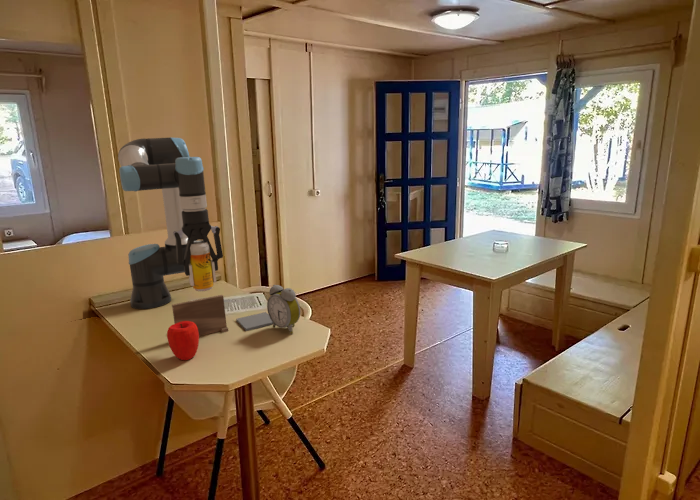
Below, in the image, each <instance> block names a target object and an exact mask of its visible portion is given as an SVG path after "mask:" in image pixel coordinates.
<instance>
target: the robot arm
mask: <svg viewBox="0 0 700 500" xmlns="http://www.w3.org/2000/svg"><path fill="white" fill-rule="evenodd" d="M117 161H118V162H119V165H120V167H119V169H118V170H119V171H118V172H119V178H120V179H119V180H120V185H121V189H122V190H123V191H124V192H139V191H141V192H142V191H151V190H161V193H162V201H163V207H164V216H165V218H164V219H165V223H166V231H167V238H166V239H165V241H164V246H160V245H159V244H158V243H152V244H151V243H149V244H145V245H141V246H137V247H135V248H133V249H130V251H129V253H128V257H127V258H128V265H129V269H130V276H131V283H132V290H131V295H130V296H131V297H130V307H131V309H135V310H145V309H147V310H148V309H153V308H154V309H155V308H159V307H162V306H164V305H167V304H168V303H171V302H172V295H171V293H170V290H169V289H168V286H167V285H166V283H165V279H164V278H165V277H166V276H170V275H177V274H183V273H184V274H185V276H188V281H189V285H190V286H191V287H193V286H194V280H193V272H192V265H191V264H190V256H191V251H190V247H191V244H194V241H198V240H203V241H204V242H205V243H206V242H207V243H208V244H209V249H210V257H211V266H212V275H213V283H216V282H217V276H216V274H217V273H216V272H217V271H218V270H219V265H218V264H219V263H218V261H219V260H220V259H223V257H224V253H223V249H222V243H221V236H220V232H221V227H219V226H218V225H216V226H214V225H211V223H210V219H209V211H208V209H207V208H208V204H207V203H208V202H207V201H208V200H207V193H206V185H205V175H204V170H205V168H204V165H203V160H202V158H201V157H199V156H190V152H189V150H188V147H187V144H186V141H185V140H184V139H183V138H181V137H153V138H152V137H151V138H145V137H143V138H136V139H133V140H131V141H129V142H127V143H125V144H124V145H122V146H121V148H120V149H119V151H118V155H117ZM210 231H211V233H212V234H213V239H214V245H215V249H216V250H215V249H214V248H213V246H212V243H211V242H210V239H209V236H208V235H209V233H210ZM215 251H216V253H215ZM164 276H165V277H164Z"/></svg>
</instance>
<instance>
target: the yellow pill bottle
mask: <svg viewBox="0 0 700 500" xmlns="http://www.w3.org/2000/svg"><path fill="white" fill-rule="evenodd" d="M190 251H191V256H190V264H191V265H192V272H193V280H194V286H192V287H193V289H194V290H195V291H196V292H206V291H207V292H208V291H210V290H212V289H213V287H214V286H215V285H214V282H213V275H212V266H211V260H212V258H211V256H210V249H209V244H208V243H207V242H206V243H205V242H204V241H203V240H196V241H194V244H191V247H190Z"/></svg>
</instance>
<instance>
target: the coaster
mask: <svg viewBox="0 0 700 500" xmlns="http://www.w3.org/2000/svg"><path fill="white" fill-rule="evenodd" d="M236 322H237V323H238V325H240V326H241V327H242V328H243V329H244V331H245V332H247V331H251V330H256V329H261V328H264V327H268V326H273V322H272V320H271V319H270V317H269V314H268V312H266V311H265V312H260V313H255V314H250V315H247V316H242V317H238V318H236Z"/></svg>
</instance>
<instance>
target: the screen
mask: <svg viewBox="0 0 700 500" xmlns="http://www.w3.org/2000/svg"><path fill="white" fill-rule="evenodd" d="M171 307H172V315H173V321H174V323H173V324H176V323H179V322H182V321H191V322H194V323H195V324H196V326H197V328H198V332H199V337H201V336H205V335H209V334H213V333H218V332H222V333H227V332H229V328H228V325H227V318H226V308H225V307H226V306H225V298H224V295H223V294H217V295H214V296H209V297H203V298H199V299H193V300H188V301H184V302H179V303H172V304H171Z"/></svg>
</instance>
